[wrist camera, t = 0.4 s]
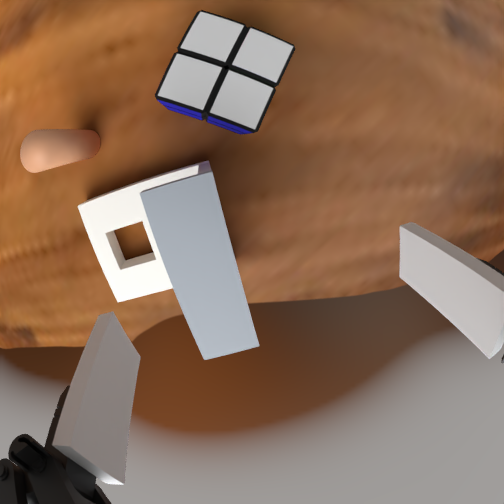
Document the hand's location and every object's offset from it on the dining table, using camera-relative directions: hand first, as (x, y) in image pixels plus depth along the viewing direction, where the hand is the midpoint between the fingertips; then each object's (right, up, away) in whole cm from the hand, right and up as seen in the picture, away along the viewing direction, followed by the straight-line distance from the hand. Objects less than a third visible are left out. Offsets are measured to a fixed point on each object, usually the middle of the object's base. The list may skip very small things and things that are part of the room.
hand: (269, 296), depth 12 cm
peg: (-21, +15, +18) cm, 32 cm away
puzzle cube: (-5, +22, +19) cm, 29 cm away
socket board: (-13, +5, +24) cm, 28 cm away
